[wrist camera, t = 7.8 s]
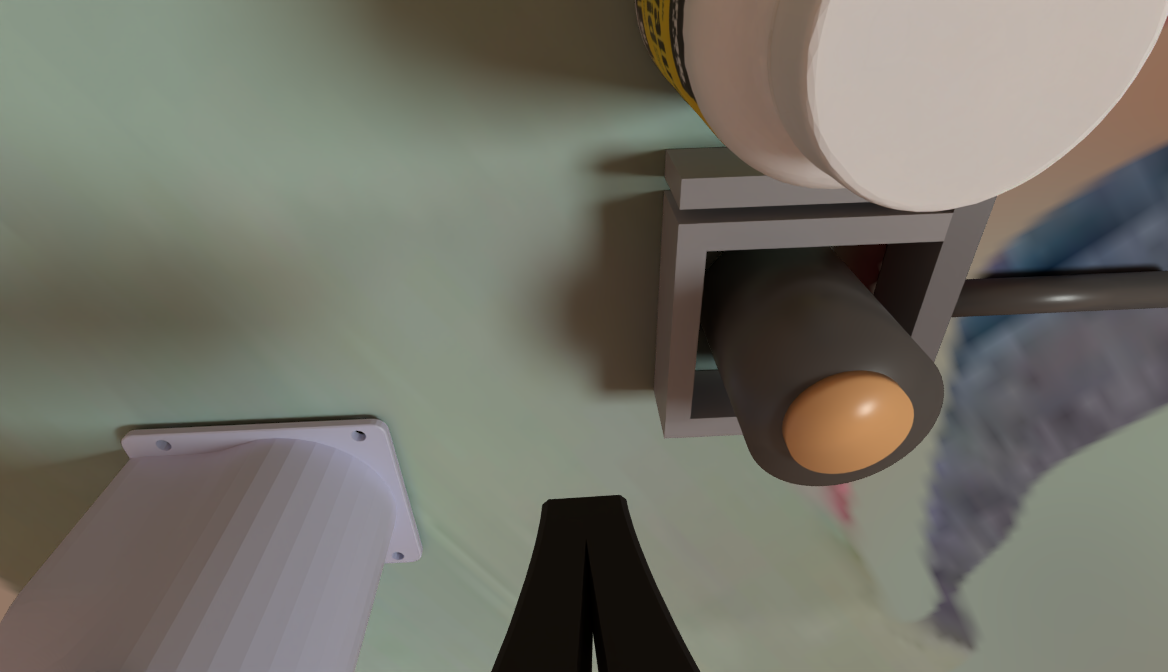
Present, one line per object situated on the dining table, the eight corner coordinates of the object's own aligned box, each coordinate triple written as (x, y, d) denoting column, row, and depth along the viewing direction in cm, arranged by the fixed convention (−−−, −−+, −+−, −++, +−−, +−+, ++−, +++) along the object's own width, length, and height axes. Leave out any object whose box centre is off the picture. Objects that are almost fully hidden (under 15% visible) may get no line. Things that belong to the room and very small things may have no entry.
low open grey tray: (653, 390, 22) (686, 537, 16) (686, -260, 12) (790, -420, 7) (1118, 368, 22) (1299, 506, 16) (1508, -282, 12) (2228, -450, 7)
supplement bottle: (591, -70, 14) (663, -99, 5) (817, -214, 13) (1336, -522, 4) (680, 138, 16) (816, 326, 8) (872, 37, 15) (1252, 137, 7)
